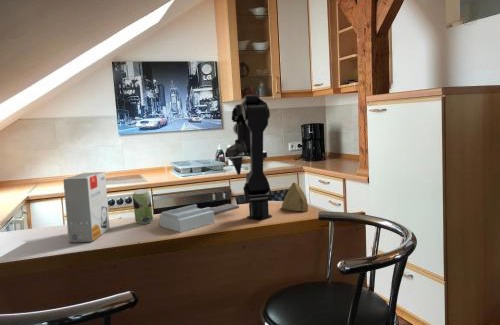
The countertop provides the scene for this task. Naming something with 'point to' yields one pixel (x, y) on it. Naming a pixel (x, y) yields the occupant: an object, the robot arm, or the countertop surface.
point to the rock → (295, 199)
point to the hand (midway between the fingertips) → (246, 175)
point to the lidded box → (186, 218)
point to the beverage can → (142, 206)
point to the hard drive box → (86, 206)
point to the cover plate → (224, 208)
